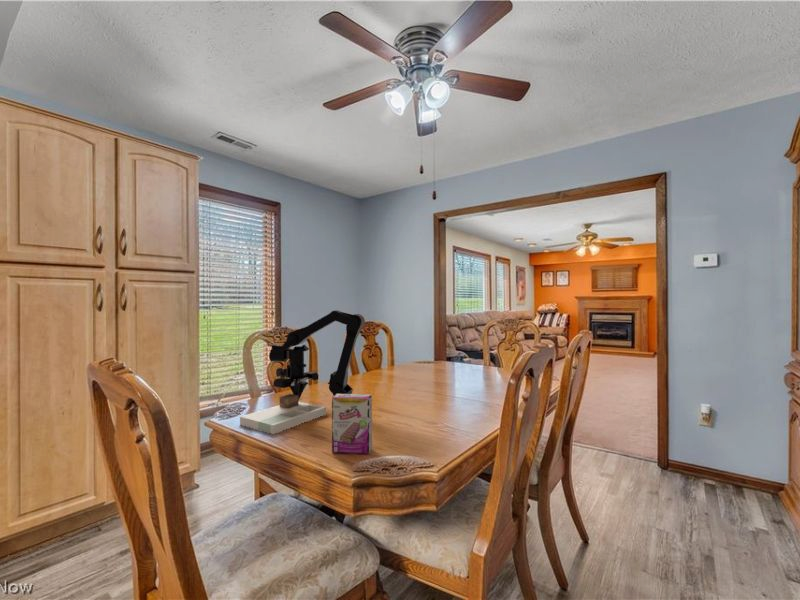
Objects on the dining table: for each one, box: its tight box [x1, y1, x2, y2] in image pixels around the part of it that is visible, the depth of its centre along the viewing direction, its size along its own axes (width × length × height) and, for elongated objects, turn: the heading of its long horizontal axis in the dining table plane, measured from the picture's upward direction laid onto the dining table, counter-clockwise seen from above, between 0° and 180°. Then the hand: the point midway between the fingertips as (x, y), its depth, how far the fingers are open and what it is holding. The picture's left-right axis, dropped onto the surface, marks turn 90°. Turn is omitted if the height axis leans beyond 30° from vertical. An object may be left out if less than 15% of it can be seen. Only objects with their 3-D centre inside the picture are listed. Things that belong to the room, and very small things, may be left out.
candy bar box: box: [331, 393, 373, 455], centre depth 112 cm, size 11×5×16 cm, turn 84°
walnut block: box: [279, 393, 299, 409], centre depth 150 cm, size 5×5×4 cm
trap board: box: [239, 401, 327, 435], centre depth 142 cm, size 18×25×3 cm
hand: (297, 400), depth 153 cm, fingers closed
